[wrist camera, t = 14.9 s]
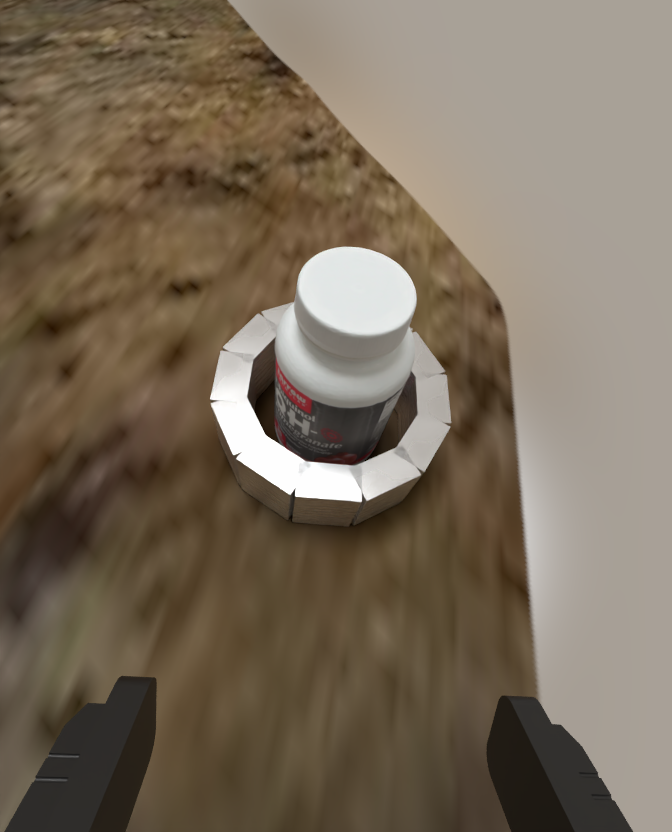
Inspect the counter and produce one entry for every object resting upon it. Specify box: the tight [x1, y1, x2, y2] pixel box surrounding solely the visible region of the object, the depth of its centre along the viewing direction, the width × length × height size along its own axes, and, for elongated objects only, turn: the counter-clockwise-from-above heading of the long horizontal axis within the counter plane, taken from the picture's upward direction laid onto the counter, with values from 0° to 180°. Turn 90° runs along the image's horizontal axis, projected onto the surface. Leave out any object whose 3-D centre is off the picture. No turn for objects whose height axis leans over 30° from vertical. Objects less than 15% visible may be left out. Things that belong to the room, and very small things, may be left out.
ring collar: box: [210, 302, 451, 527], centre depth 21 cm, size 10×10×4 cm
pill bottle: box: [275, 247, 417, 466], centre depth 19 cm, size 5×5×10 cm
